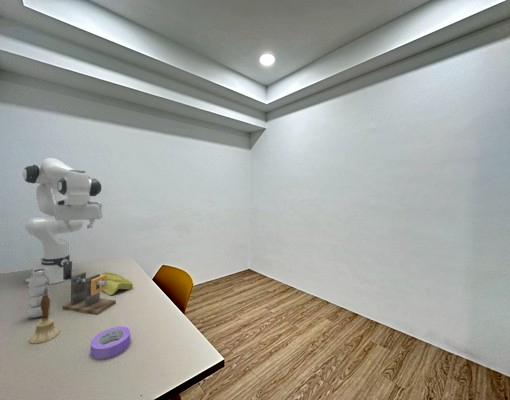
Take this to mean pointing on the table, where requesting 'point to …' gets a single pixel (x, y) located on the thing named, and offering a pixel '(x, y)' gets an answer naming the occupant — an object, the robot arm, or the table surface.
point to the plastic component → (116, 283)
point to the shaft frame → (86, 297)
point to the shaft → (68, 274)
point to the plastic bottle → (37, 292)
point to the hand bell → (44, 324)
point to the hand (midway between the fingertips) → (79, 228)
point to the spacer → (93, 284)
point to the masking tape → (114, 348)
